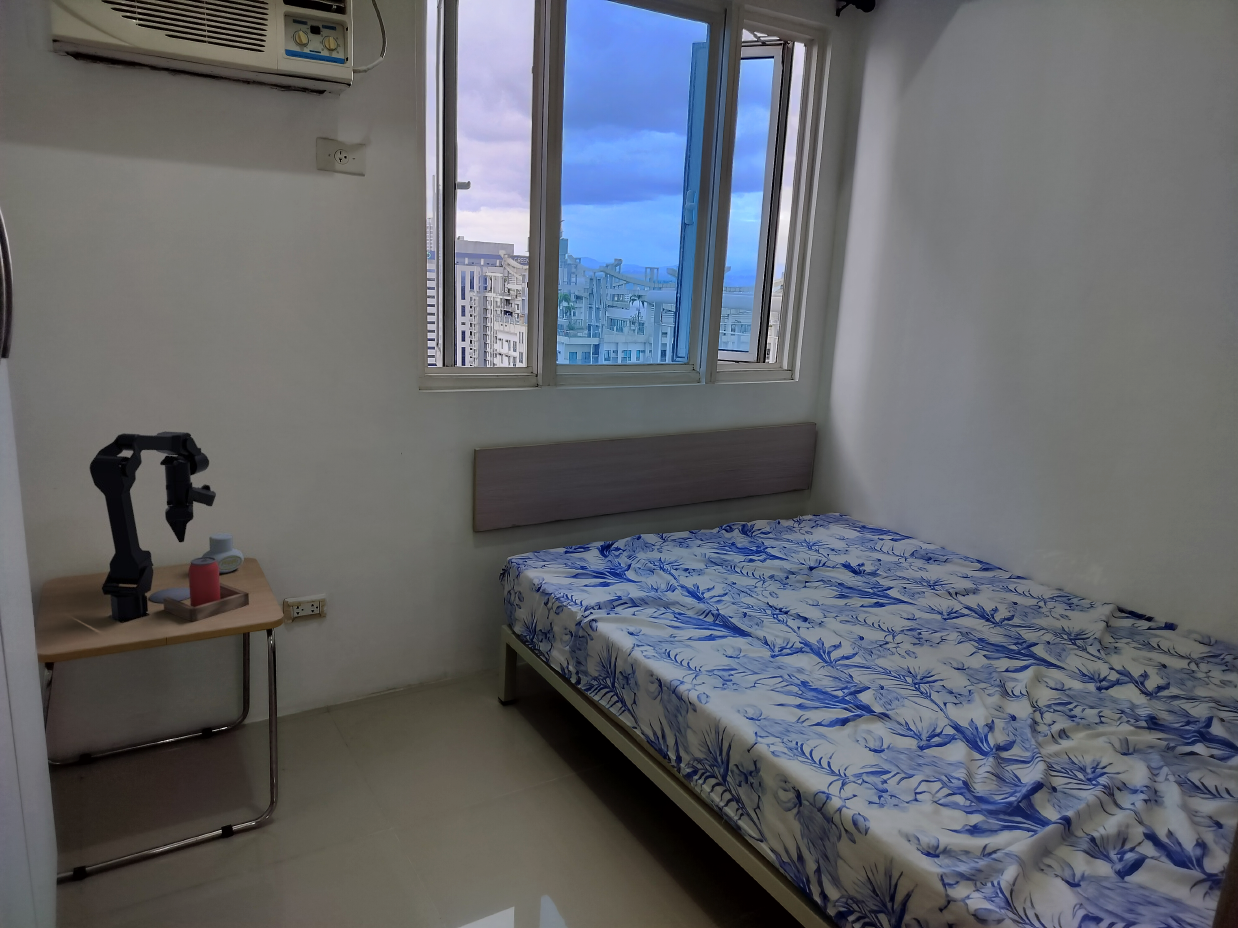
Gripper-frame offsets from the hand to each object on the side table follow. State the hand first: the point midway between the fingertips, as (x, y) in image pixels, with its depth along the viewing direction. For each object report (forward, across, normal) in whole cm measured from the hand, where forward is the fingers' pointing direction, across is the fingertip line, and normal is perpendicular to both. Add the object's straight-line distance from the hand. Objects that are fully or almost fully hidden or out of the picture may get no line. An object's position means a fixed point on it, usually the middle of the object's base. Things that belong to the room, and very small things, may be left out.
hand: (181, 537), depth 208 cm
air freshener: (+13, +8, -9) cm, 18 cm away
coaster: (+12, -10, +3) cm, 16 cm away
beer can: (+13, -20, -5) cm, 24 cm away
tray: (+12, -20, -5) cm, 24 cm away
